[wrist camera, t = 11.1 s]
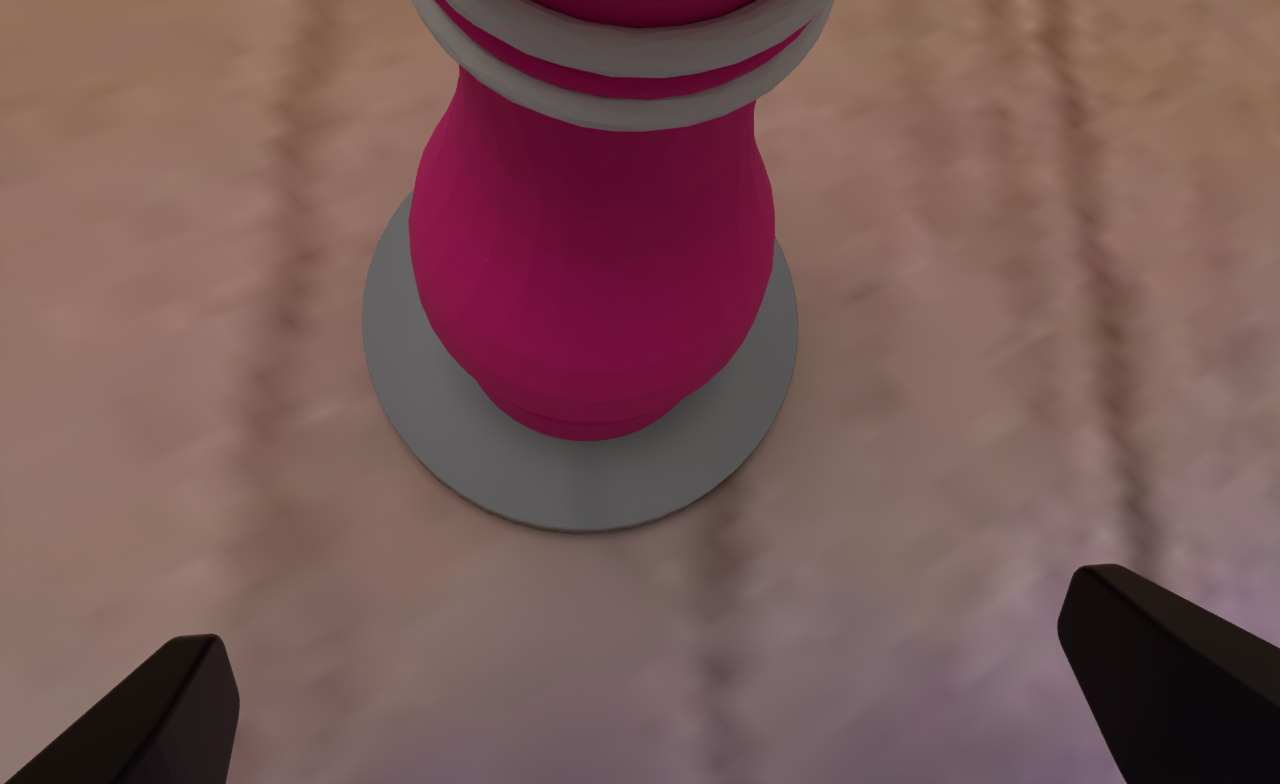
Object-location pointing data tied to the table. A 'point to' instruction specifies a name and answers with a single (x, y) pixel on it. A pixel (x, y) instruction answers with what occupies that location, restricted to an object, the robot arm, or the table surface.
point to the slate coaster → (558, 468)
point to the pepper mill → (600, 199)
